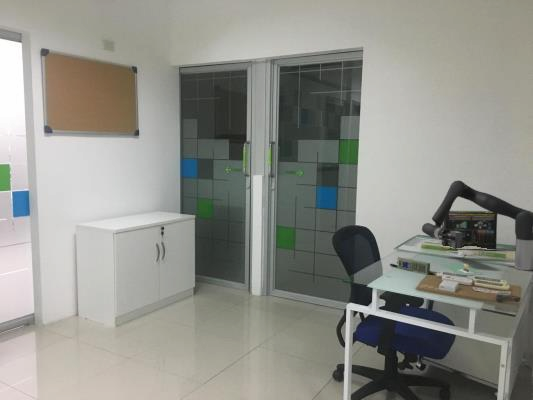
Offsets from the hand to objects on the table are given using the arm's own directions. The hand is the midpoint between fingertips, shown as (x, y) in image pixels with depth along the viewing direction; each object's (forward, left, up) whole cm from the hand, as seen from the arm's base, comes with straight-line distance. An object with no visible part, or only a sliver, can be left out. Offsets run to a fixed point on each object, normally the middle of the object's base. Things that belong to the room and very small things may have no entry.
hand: (458, 238), depth 260 cm
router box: (-60, -37, -18) cm, 73 cm away
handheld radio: (+26, -12, -18) cm, 34 cm away
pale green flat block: (+1, +3, -18) cm, 18 cm away
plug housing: (-1, -3, -5) cm, 6 cm away
